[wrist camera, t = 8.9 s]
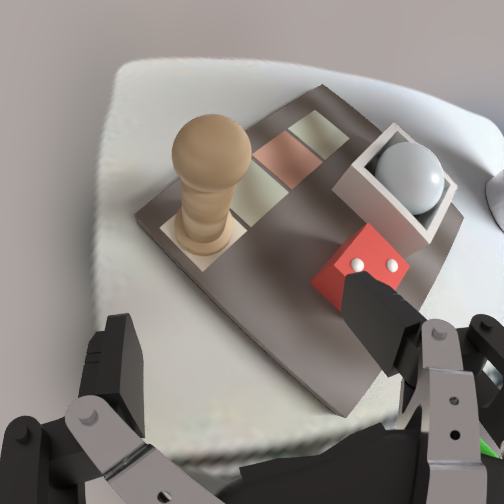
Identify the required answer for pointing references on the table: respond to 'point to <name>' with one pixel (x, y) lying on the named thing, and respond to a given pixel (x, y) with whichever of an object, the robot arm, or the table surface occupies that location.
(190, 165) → the pawn
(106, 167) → the table surface
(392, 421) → the table surface
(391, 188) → the white ball
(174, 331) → the table surface
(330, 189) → the board
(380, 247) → the die
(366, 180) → the housing
